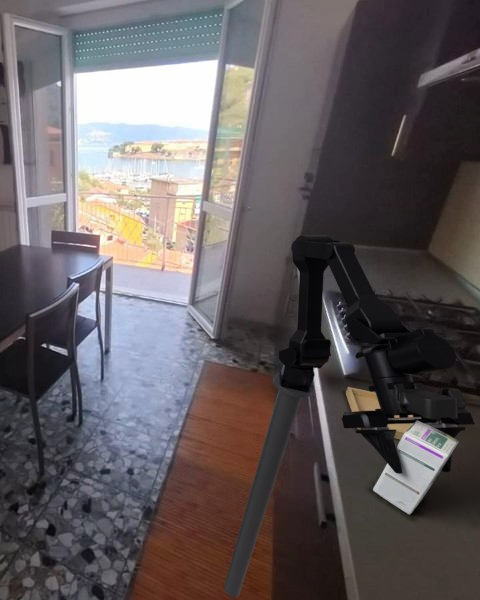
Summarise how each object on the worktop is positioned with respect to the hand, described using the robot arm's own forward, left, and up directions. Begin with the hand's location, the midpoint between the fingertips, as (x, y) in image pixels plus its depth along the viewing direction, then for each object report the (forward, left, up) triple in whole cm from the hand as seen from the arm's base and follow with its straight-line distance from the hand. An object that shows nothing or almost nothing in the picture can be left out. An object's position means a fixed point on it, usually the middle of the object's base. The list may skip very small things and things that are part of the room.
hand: (422, 472), depth 59 cm
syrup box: (-1, +1, -8) cm, 8 cm away
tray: (+3, +24, -8) cm, 26 cm away
